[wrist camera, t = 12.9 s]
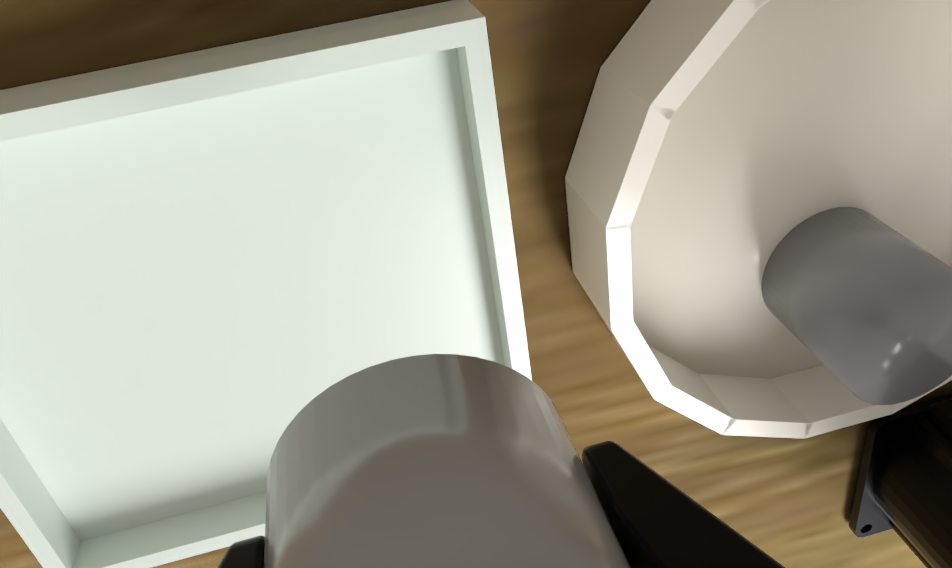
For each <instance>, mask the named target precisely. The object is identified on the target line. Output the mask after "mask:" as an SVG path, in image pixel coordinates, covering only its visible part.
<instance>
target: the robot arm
mask: <svg viewBox="0 0 952 568" xmlns="http://www.w3.org/2000/svg"><path fill="white" fill-rule="evenodd" d="M582 462H583V466H584V468H585V470H586V472H587V474H588V477H589V479H590V481H591V483H592V485H593V487H594V489H595V492H596V494H597V496H598V498H599V500H600V502H601V505H602V507H603V509H604V511H605V513H606V515H607V518H608V520H609V522H610V524H611V526H612V528H613V530H614V533H615V535H616V537H617V539H618V541H619V543H620V546H621V548H622V550H623V552H624V554H625V556H626V558H627V561H628V563H629V565H630V567H631V568H785V567H783V566H782V565H781V564H779V563H778V562H777V561H775V560H774V559H773V558H771V557H770V556H769V555H767V554H766V553H764V552H763V551H762V550H760V549H759V548H758V547H756V546H755V545H754V544H752V543H751V542H750V541H748V540H747V539H746V538H744V537H743V536H741V535H740V534H739V533H737V532H736V531H735V530H733V529H732V528H731V527H729V526H728V525H727V524H725V523H724V522H723V521H721V520H720V519H718V518H717V517H716V516H714V515H713V514H712V513H710V512H709V511H708V510H706V509H705V508H704V507H702V506H701V505H700V504H698V503H697V502H696V501H694V500H693V499H691V498H690V497H689V496H687V495H686V494H685V493H683V492H682V491H681V490H679V489H678V488H677V487H675V486H674V485H673V484H671V483H670V482H668V481H667V480H666V479H664V478H663V477H662V476H660V475H659V474H658V473H656V472H655V471H654V470H652V469H651V468H650V467H648V466H647V465H645V464H644V463H643V462H641V461H640V460H639V459H637V458H636V457H635V456H633V455H632V454H631V453H629V452H628V451H627V450H625V449H624V448H623V447H621V446H620V445H618V444H617V443H615V442H613V441H606V442H602V443H599V444H595V445H591V446H588V447H586V448H584V449H583V451H582ZM849 527H850V529H851V530H852V531H853V532H854V534H855V535H856V536H857V537H865V536H869V535H872V534H875V533H879V532H882V531H885V530H889V529H892V528H893V529H894V530H895V532H896V533H897V534H898V535H899V536H900V537H901V538H902V540H903V541H904V542H905V543H906V544H907V545H908V546H909V548H910V549H911V550H912V551H913V552H914V553H915V555H916V556H917V557H918V558H919V559H920V560H921V561H922V563H923V564H924V565H925V566H926V567H927V568H952V394H951V395H948V396H944V397H941V398H937V399H934V400H930V401H926V402H923V403H919V404H916V405H912V406H909V407H905V408H902V409H900V410H899V411H897V412H895V413H894V414H891V415H887V416H884V417H880V418H877V419H873V420H872V421H871V422H870V424H869V426H868V431H867V436H866V441H865V446H864V451H863V456H862V461H861V466H860V471H859V476H858V481H857V487H856V492H855V497H854V502H853V507H852V512H851V517H850V522H849ZM264 549H265V536H256V537H253V538H249V539H245V540H242V541H238V542H235V543H233V544H232V545H231V546H230V547H229V549H228V550H227V552H226V554H225V556H224V557H223V559H222V561H221V563H220V565H219V566H218V568H264Z"/></svg>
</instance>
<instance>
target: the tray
mask: <svg viewBox="0 0 952 568" xmlns="http://www.w3.org/2000/svg"><path fill="white" fill-rule="evenodd" d="M427 354H458V355H465V356H473V357H478V358H482V359H486V360H490V361H494V362H497V363H499V364H502V365H504V366H507V367H509V368H512V369H513V370H515V371H517V372H519V373H520V374H522V375H524V376H526V377H527V378H529V379H530V380H531V381H532V377H531V369H530V361H529V353H528V346H527V338H526V330H525V322H524V315H523V307H522V299H521V291H520V284H519V276H518V268H517V260H516V253H515V245H514V237H513V229H512V222H511V214H510V206H509V198H508V191H507V183H506V175H505V167H504V160H503V152H502V144H501V136H500V129H499V121H498V113H497V105H496V98H495V90H494V82H493V74H492V67H491V59H490V51H489V43H488V36H487V28H486V20H485V16H484V15H483V14H481V13H480V12H479V11H478V10H477V9H476V8H475V7H474V6H473V5H472V4H471V3H470V2H469V1H468V0H452V1H447V2H442V3H437V4H432V5H427V6H422V7H417V8H412V9H406V10H401V11H396V12H391V13H386V14H381V15H376V16H371V17H366V18H361V19H356V20H351V21H346V22H341V23H336V24H331V25H326V26H321V27H316V28H311V29H306V30H301V31H296V32H291V33H286V34H281V35H276V36H270V37H265V38H260V39H255V40H250V41H245V42H240V43H235V44H230V45H225V46H220V47H215V48H210V49H205V50H200V51H195V52H190V53H185V54H180V55H175V56H170V57H165V58H160V59H155V60H150V61H145V62H140V63H134V64H129V65H124V66H119V67H114V68H109V69H104V70H99V71H94V72H89V73H84V74H79V75H74V76H69V77H64V78H59V79H54V80H49V81H44V82H39V83H34V84H29V85H24V86H19V87H14V88H9V89H4V90H0V508H1V509H2V511H3V512H4V514H5V515H6V516H7V518H8V519H9V520H10V522H11V523H12V525H13V526H14V527H15V529H16V530H17V532H18V533H19V534H20V536H21V537H22V539H23V540H24V541H25V543H26V544H27V546H28V547H29V548H30V550H31V551H32V553H33V554H34V555H35V557H36V558H37V560H38V561H39V562H40V564H41V565H42V567H43V568H151V567H154V566H158V565H162V564H165V563H169V562H173V561H177V560H180V559H184V558H188V557H191V556H195V555H199V554H202V553H206V552H210V551H213V550H217V549H221V548H224V547H228V546H231V545H232V544H233V543H235V542H238V541H242V540H245V539H249V538H253V537H256V536H265V520H266V490H267V473H268V468H269V464H270V460H271V456H272V454H273V452H274V449H275V447H276V444H277V442H278V440H279V439H280V437H281V436H282V434H283V432H284V431H285V429H286V427H287V426H288V425H289V424H290V422H291V421H292V420H293V419H294V418H295V416H296V415H297V414H298V413H299V412H300V411H301V410H302V409H303V408H304V407H305V406H306V405H307V404H308V403H309V402H310V401H311V400H312V399H314V398H315V397H316V396H318V395H319V394H320V393H322V392H323V391H325V390H326V389H327V388H329V387H330V386H332V385H333V384H335V383H337V382H339V381H340V380H342V379H344V378H346V377H348V376H349V375H352V374H354V373H356V372H359V371H361V370H363V369H366V368H368V367H370V366H374V365H377V364H380V363H383V362H387V361H390V360H394V359H399V358H404V357H409V356H416V355H427Z"/></svg>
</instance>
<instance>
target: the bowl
mask: <svg viewBox="0 0 952 568" xmlns="http://www.w3.org/2000/svg"><path fill="white" fill-rule="evenodd" d="M565 184H566V196H567V208H568V220H569V232H570V245H571V257H572V269H573V273H574V275H575V276H576V278H577V279H578V281H579V283H580V284H581V286H582V287H583V289H584V291H585V292H586V294H587V295H588V297H589V299H590V300H591V302H592V303H593V305H594V307H595V308H596V310H597V311H598V313H599V315H600V316H601V318H602V319H603V321H604V323H605V324H606V326H607V327H608V329H609V331H610V332H611V334H612V335H613V337H614V339H615V340H616V342H617V343H618V345H619V346H620V348H621V349H622V351H623V352H624V354H625V356H626V357H627V359H628V360H629V362H630V363H631V365H632V366H633V368H634V369H635V371H636V372H637V374H638V375H639V377H640V378H641V380H642V382H643V383H644V385H645V386H646V388H647V389H648V391H649V392H650V394H651V395H652V397H653V398H654V400H656V401H658V402H660V403H662V404H664V405H666V406H668V407H670V408H672V409H674V410H676V411H677V412H679V413H681V414H683V415H685V416H687V417H689V418H691V419H693V420H695V421H697V422H699V423H701V424H702V425H704V426H706V427H708V428H710V429H712V430H714V431H716V432H718V433H720V434H722V435H735V436H757V437H779V438H801V439H805V438H809V437H812V436H816V435H820V434H823V433H827V432H830V431H834V430H837V429H841V428H844V427H848V426H852V425H855V424H859V423H862V422H866V421H869V420H873V419H877V418H880V417H884V416H887V415H891V414H894V413H895V412H897V411H899V410H900V409H902V408H904V407H906V406H907V405H909V404H911V403H913V402H914V401H916V400H918V399H920V398H921V397H923V396H925V395H927V394H928V393H930V392H932V391H934V390H935V389H937V388H939V387H940V386H942V385H944V384H946V383H947V382H949V381H951V380H952V375H951V376H950V377H949V378H948V379H947V380H945V381H944V382H942V383H941V384H940V385H938V386H937V387H935V388H934V389H932V390H930V391H929V392H927V393H925V394H923V395H921V396H919V397H916V398H914V399H911V400H908V401H905V402H902V403H897V404H891V405H875V404H869V403H866V402H864V401H862V400H860V399H858V398H857V397H856V396H854V395H853V394H852V393H851V392H850V391H849V390H848V389H847V388H846V387H845V386H844V385H843V384H842V383H841V382H840V381H839V380H838V379H837V378H836V377H835V376H834V375H833V374H832V373H831V372H830V371H829V370H828V369H827V368H826V367H825V366H824V365H823V364H822V363H821V362H820V361H819V360H818V359H817V358H816V357H815V356H814V355H813V354H812V353H811V352H810V351H809V350H808V349H807V348H806V347H805V346H804V345H803V344H802V343H801V342H800V341H799V340H798V339H797V338H796V337H795V336H794V335H793V334H792V333H791V332H790V331H789V330H788V329H787V328H786V327H785V326H784V325H783V324H782V323H781V322H780V321H779V320H778V319H777V318H776V317H775V316H774V315H773V314H772V313H771V312H770V310H769V309H768V308H767V306H766V304H765V303H764V300H763V297H762V290H761V287H762V277H763V273H764V269H765V266H766V264H767V262H768V259H769V258H770V256H771V254H772V252H773V251H774V249H775V248H776V246H777V245H778V244H779V243H780V241H781V240H782V239H783V238H784V237H785V236H786V235H787V234H788V233H789V232H790V231H791V230H792V229H793V228H795V227H796V226H797V225H798V224H800V223H801V222H803V221H804V220H806V219H807V218H809V217H811V216H813V215H815V214H817V213H820V212H822V211H825V210H828V209H832V208H837V207H855V208H859V209H862V210H864V211H867V212H869V213H870V214H872V215H873V216H875V217H876V218H878V219H879V220H881V221H882V222H884V223H885V224H887V225H888V226H890V227H891V228H893V229H894V230H896V231H897V232H899V233H900V234H902V235H903V236H905V237H906V238H908V239H909V240H911V241H912V242H914V243H915V244H917V245H918V246H920V247H921V248H923V249H924V250H926V251H927V252H929V253H930V254H932V255H933V256H935V257H936V258H938V259H939V260H941V261H942V262H944V263H945V264H947V265H948V266H950V267H951V268H952V0H651V1H650V3H649V4H648V5H647V7H646V8H645V9H644V11H643V12H642V13H641V15H640V16H639V17H638V19H637V20H636V21H635V23H634V24H633V25H632V27H631V28H630V29H629V31H628V32H627V33H626V34H625V36H624V37H623V38H622V40H621V41H620V42H619V44H618V45H617V46H616V48H615V49H614V50H613V52H612V53H611V54H610V56H609V57H608V58H607V60H606V61H605V62H604V64H603V65H602V66H601V67H600V71H599V74H598V77H597V80H596V83H595V86H594V89H593V92H592V96H591V99H590V102H589V105H588V108H587V111H586V114H585V117H584V120H583V124H582V127H581V130H580V133H579V136H578V139H577V142H576V145H575V148H574V151H573V155H572V158H571V161H570V164H569V167H568V170H567V173H566V176H565Z"/></svg>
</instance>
